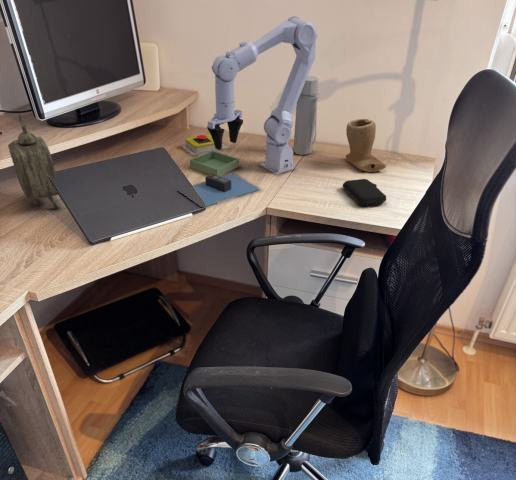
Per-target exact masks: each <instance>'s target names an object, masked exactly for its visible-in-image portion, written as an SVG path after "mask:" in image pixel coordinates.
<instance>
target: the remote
mask: <svg viewBox="0 0 516 480" xmlns="http://www.w3.org/2000/svg"><path fill="white" fill-rule="evenodd" d="M223 177H224V176H217V175H214V174H211V175H210V174H207V176H205V177H204V180H205V181H204V182H206V186H209V187H212V188H214V189H217V190H220V191H222V192H226V191H228V190H230V189H231V180H228V179H226V178H223Z"/></svg>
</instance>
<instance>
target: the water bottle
mask: <svg viewBox="0 0 516 480" xmlns="http://www.w3.org/2000/svg"><path fill="white" fill-rule="evenodd" d="M320 97H321V94H320V92H319V77H317V76H315V75H308V76H307V79H306V81H305V84H304V86H303V89H302V91H301V94H300V96H299V99H298V101H297V103H296V106H295V120H294V136H293V148H292V149H293V153H295V154H296V155H299V156H308V155H310V154H312V152H313V146H314V143H315V142H316V140H317V115H318V112H317V109H318V107H317V106H318V99H319V98H320Z"/></svg>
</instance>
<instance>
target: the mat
mask: <svg viewBox="0 0 516 480" xmlns="http://www.w3.org/2000/svg"><path fill="white" fill-rule="evenodd" d="M222 177H223V178H226V179H228V180H231V189H230V190H228V191H226V192H222V191H220V190H217V189H214V188H212V187H209V186H206V181H204V182H201V183H198V184H195V185H192V186H193V187H194V188H195V190H196V191H197V193H198V194H199V196H200V197H201V199H202V200H203V202H204V204H205V206H204V207H203V208H202V209H205V208H207V207H211V206H213V205H217V204H218V203H220V202H223V201H226V200H229V199H236V198H239V197H243V196H246V195H249V194H252V193H254V192H258V191H260V188H259V187H257V186H255V185H254V184H252V183H250V182H248V181H246V180H245V179H243V178H242V177H240V176H238V175H237V174H235V173H233V174H229V175H226V176H222Z"/></svg>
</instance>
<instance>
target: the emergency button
mask: <svg viewBox="0 0 516 480" xmlns="http://www.w3.org/2000/svg"><path fill="white" fill-rule="evenodd" d="M181 148H182V149H183V150H185V151H186V152H187V153H188V154H190V155H191V156H196V155H202V154H205V153H207V152H209V151H212V150H214V151H217V152H218V151H219V150H218V149H215V145H214V142H213V139H212V136H211V134H210V133H207V134H199V135H196V136H190V137H186V138H185V144H184V145H183V144H182V146H181ZM227 149H229V147H228V146H227V145H226V144H225V143H223V142H222V149H221V150H220V151H223V150H227Z"/></svg>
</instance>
